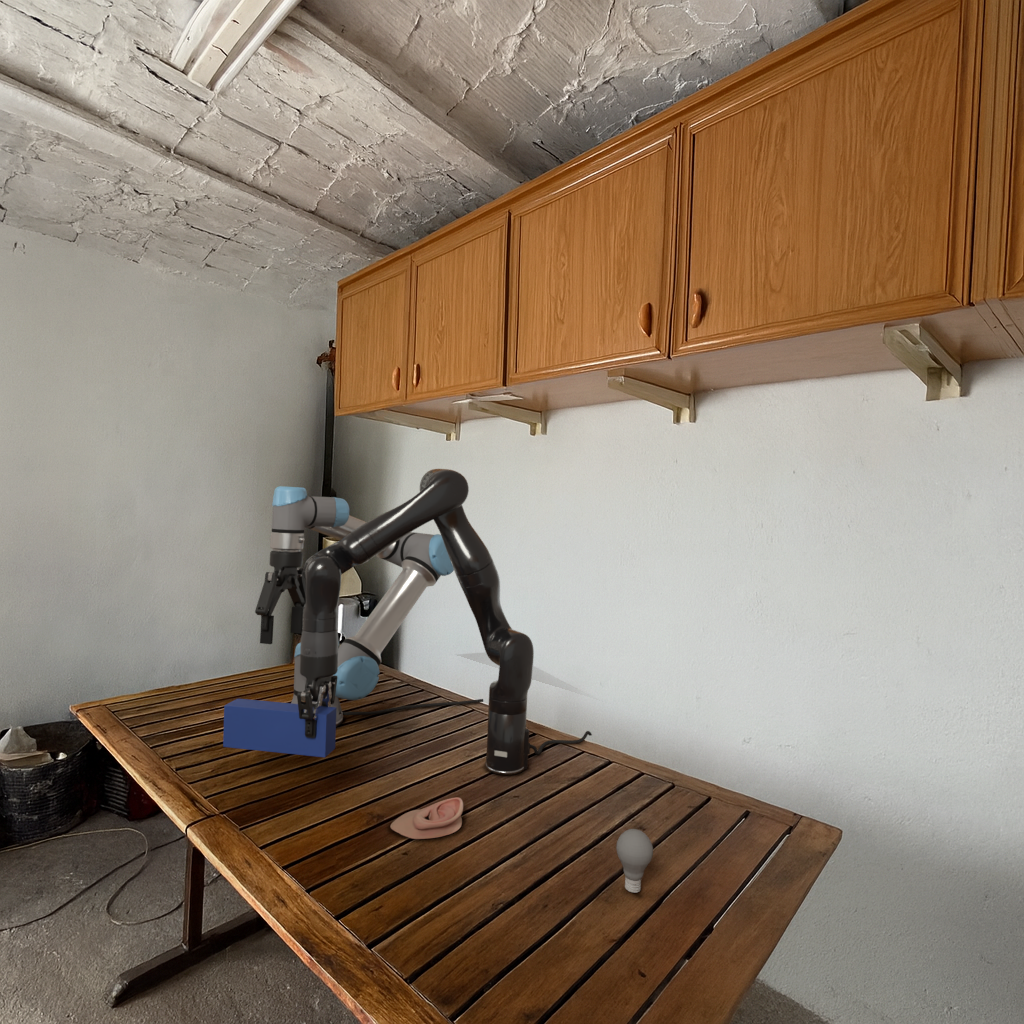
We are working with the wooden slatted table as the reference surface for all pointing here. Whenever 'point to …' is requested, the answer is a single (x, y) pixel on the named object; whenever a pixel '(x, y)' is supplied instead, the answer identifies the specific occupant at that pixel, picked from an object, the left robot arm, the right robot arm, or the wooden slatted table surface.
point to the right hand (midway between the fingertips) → (316, 731)
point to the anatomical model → (431, 820)
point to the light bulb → (634, 857)
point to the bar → (277, 728)
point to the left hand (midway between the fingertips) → (281, 638)
